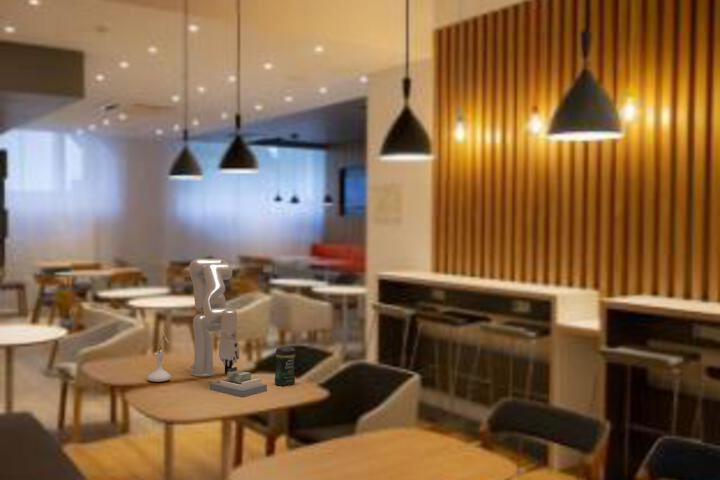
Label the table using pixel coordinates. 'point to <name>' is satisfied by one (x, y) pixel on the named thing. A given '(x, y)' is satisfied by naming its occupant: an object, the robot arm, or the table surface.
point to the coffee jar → (285, 366)
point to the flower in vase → (159, 366)
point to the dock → (239, 387)
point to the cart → (237, 375)
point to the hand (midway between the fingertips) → (228, 373)
